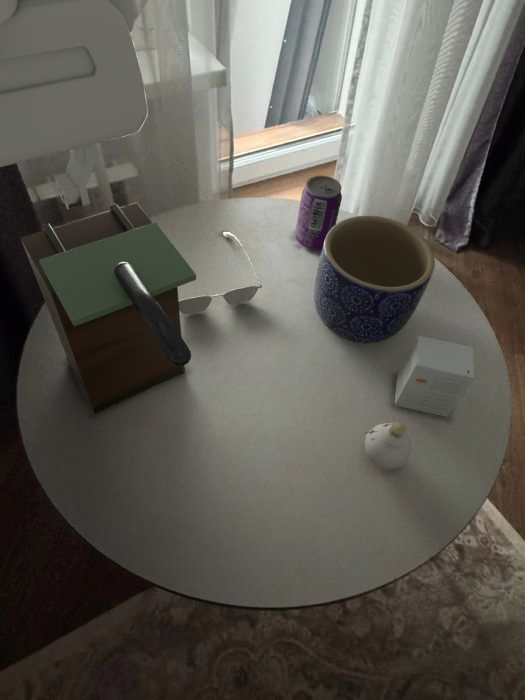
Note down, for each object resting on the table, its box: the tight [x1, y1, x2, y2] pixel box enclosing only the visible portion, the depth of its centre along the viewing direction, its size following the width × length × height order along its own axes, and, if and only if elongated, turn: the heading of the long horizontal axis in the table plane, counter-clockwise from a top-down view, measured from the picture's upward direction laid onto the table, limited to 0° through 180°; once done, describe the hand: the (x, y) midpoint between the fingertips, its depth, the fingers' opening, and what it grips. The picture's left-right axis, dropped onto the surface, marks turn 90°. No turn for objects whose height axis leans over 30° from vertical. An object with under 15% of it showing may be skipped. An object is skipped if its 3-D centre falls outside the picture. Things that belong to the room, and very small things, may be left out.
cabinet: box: [20, 202, 186, 415], centre depth 66 cm, size 10×14×25 cm
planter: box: [313, 215, 436, 344], centre depth 80 cm, size 16×17×15 cm
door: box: [39, 222, 197, 366], centre depth 50 cm, size 20×13×3 cm, turn 33°
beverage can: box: [294, 175, 343, 250], centre depth 92 cm, size 7×7×12 cm
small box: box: [394, 335, 475, 418], centre depth 72 cm, size 8×6×10 cm
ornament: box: [364, 421, 412, 470], centre depth 66 cm, size 6×7×10 cm
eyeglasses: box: [178, 231, 263, 315], centre depth 87 cm, size 15×18×4 cm
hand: (3, 223), depth 32 cm, fingers open, 8 cm apart
